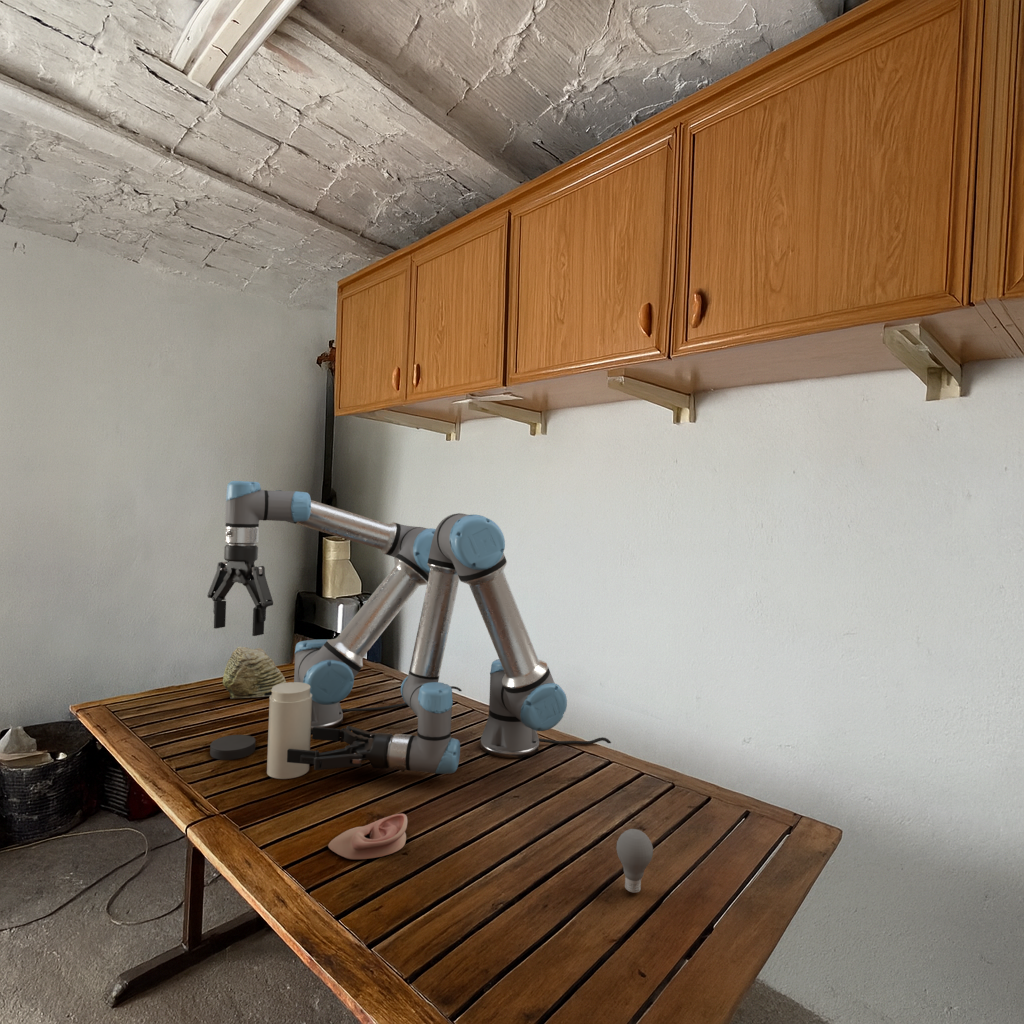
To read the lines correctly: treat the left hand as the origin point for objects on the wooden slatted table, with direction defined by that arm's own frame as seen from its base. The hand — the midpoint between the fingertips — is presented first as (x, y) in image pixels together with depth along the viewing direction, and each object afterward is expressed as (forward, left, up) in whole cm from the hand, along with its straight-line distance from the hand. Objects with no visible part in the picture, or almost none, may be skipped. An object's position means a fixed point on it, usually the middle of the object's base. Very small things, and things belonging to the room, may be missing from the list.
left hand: (238, 631), depth 154 cm
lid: (0, 0, -28) cm, 28 cm away
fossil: (-26, -37, -29) cm, 54 cm away
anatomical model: (+4, +57, -29) cm, 64 cm away
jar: (-3, +19, -29) cm, 35 cm away
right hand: (-5, +21, -23) cm, 32 cm away
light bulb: (-17, +100, -29) cm, 105 cm away
